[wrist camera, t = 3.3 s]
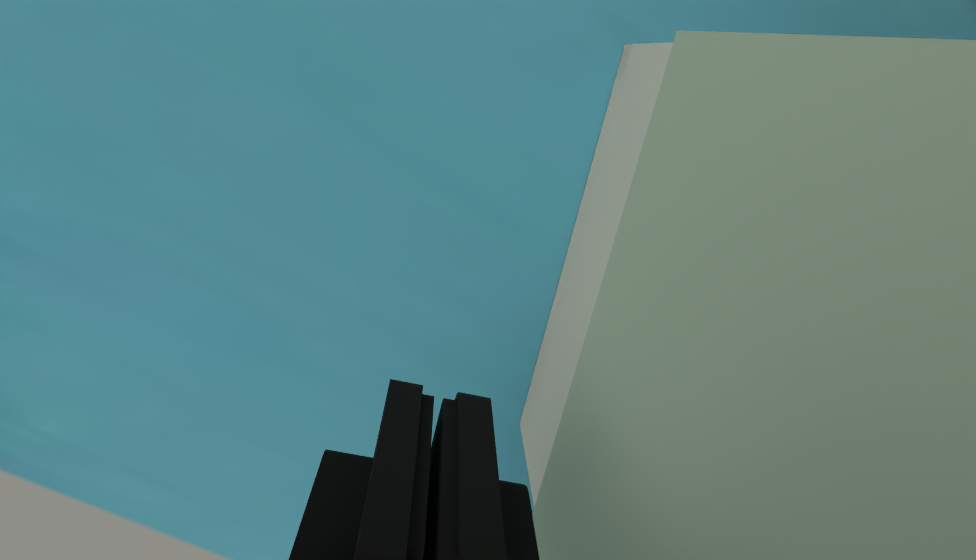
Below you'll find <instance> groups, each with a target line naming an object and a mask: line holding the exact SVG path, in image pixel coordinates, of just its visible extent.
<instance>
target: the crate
mask: <svg viewBox="0 0 976 560" xmlns="http://www.w3.org/2000/svg"><path fill="white" fill-rule="evenodd" d="M672 46H673V43H643V44H625V46H624V50H623V53H622V57H621V60H620V64H619V68H618V71H617V75H616V78H615V82H614V86H613V89H612V93H611V96H610V100H609V104H608V107H607V111H606V114H605V118H604V122H603V125H602V129H601V132H600V136H599V140H598V143H597V147H596V150H595V154H594V158H593V161H592V165H591V168H590V172H589V176H588V179H587V183H586V186H585V190H584V194H583V197H582V201H581V204H580V208H579V212H578V215H577V219H576V222H575V226H574V230H573V233H572V237H571V240H570V244H569V248H568V251H567V255H566V258H565V262H564V266H563V269H562V273H561V276H560V280H559V284H558V287H557V291H556V294H555V298H554V302H553V305H552V309H551V312H550V316H549V320H548V323H547V327H546V330H545V334H544V338H543V341H542V345H541V348H540V352H539V356H538V359H537V363H536V366H535V370H534V374H533V377H532V381H531V384H530V388H529V392H528V395H527V399H526V402H525V406H524V410H523V413H522V417H521V420H520V428H521V433H522V439H523V445H524V451H525V457H526V463H527V469H528V474H529V480H530V486H531V492H532V498H533V504H534V507H535V504H536V500H537V497H538V494H539V490H540V487H541V484H542V480H543V477H544V474H545V470H546V467H547V464H548V460H549V457H550V454H551V450H552V447H553V444H554V440H555V437H556V434H557V430H558V427H559V424H560V420H561V417H562V413H563V410H564V407H565V403H566V400H567V397H568V393H569V390H570V387H571V383H572V380H573V377H574V373H575V370H576V367H577V363H578V360H579V357H580V353H581V350H582V347H583V343H584V340H585V337H586V333H587V330H588V327H589V323H590V320H591V317H592V313H593V310H594V306H595V303H596V300H597V296H598V293H599V290H600V286H601V283H602V280H603V276H604V273H605V270H606V266H607V263H608V260H609V256H610V253H611V250H612V246H613V243H614V240H615V236H616V233H617V230H618V226H619V223H620V220H621V216H622V213H623V209H624V206H625V203H626V199H627V196H628V193H629V189H630V186H631V183H632V179H633V176H634V173H635V169H636V166H637V163H638V159H639V156H640V153H641V149H642V146H643V143H644V139H645V136H646V133H647V129H648V126H649V123H650V119H651V116H652V113H653V109H654V106H655V102H656V99H657V96H658V92H659V89H660V86H661V82H662V79H663V76H664V72H665V69H666V66H667V62H668V59H669V56H670V52H671V49H672Z"/></svg>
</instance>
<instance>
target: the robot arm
mask: <svg viewBox="0 0 976 560" xmlns="http://www.w3.org/2000/svg"><path fill="white" fill-rule="evenodd" d="M422 390H423V385H418V384H413V383H408V382H402V381H397V380H392V379H390V383H389V388H388V393H387V397H386V402H385V407H384V411H383V416H382V421H381V425H380V430H379V434H378V439H377V444H376V448H375V453H374V458H371V457H365V456H359V455H354V454H348V453H342V452H337V451H331V450H325V451H324V454H323V457H322V460H321V463H320V466H319V469H318V472H317V475H316V478H315V481H314V484H313V487H312V490H311V493H310V496H309V499H308V502H307V506H306V509H305V512H304V515H303V518H302V521H301V524H300V527H299V530H298V533H297V536H296V539H295V542H294V545H293V548H292V551H291V554H290V557H289V560H540V559H539V553H538V546H537V540H536V534H535V528H534V522H533V516H532V510H531V504H530V498H529V492H528V489H527V486H525V485H523V484H518V483H512V482H507V481H501V480H499V476H498V466H497V456H496V446H495V436H494V426H493V416H492V406H491V399H490V398H486V397H481V396H476V395H470V394H465V393H460V392H458V393H457V395H456V398H455V400H450V399H445V398H444V399H443V402H442V405H441V409H440V413H439V417H438V421H437V425H436V429H435V433H434V437H433V441H432V446H431V437H432V421H433V405H434V396H429V395H424V394H422Z"/></svg>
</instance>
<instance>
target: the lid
mask: <svg viewBox="0 0 976 560" xmlns="http://www.w3.org/2000/svg"><path fill="white" fill-rule="evenodd" d="M532 516H533V522H534V528H535V534H536V540H537V546H538V553H539V559H540V560H976V40H957V39H926V38H895V37H864V36H833V35H803V34H772V33H741V32H710V31H680V30H677V32H676V36H675V39H674V42H673V46H672V49H671V52H670V56H669V59H668V62H667V66H666V69H665V72H664V76H663V79H662V82H661V86H660V89H659V92H658V96H657V99H656V102H655V106H654V109H653V113H652V116H651V119H650V123H649V126H648V129H647V133H646V136H645V139H644V143H643V146H642V149H641V153H640V156H639V159H638V163H637V166H636V169H635V173H634V176H633V179H632V183H631V186H630V189H629V193H628V196H627V199H626V203H625V206H624V209H623V213H622V216H621V220H620V223H619V226H618V230H617V233H616V236H615V240H614V243H613V246H612V250H611V253H610V256H609V260H608V263H607V266H606V270H605V273H604V276H603V280H602V283H601V286H600V290H599V293H598V296H597V300H596V303H595V306H594V310H593V313H592V317H591V320H590V323H589V327H588V330H587V333H586V337H585V340H584V343H583V347H582V350H581V353H580V357H579V360H578V363H577V367H576V370H575V373H574V377H573V380H572V383H571V387H570V390H569V393H568V397H567V400H566V403H565V407H564V410H563V413H562V417H561V420H560V424H559V427H558V430H557V434H556V437H555V440H554V444H553V447H552V450H551V454H550V457H549V460H548V464H547V467H546V470H545V474H544V477H543V480H542V484H541V487H540V490H539V494H538V497H537V500H536V504H535V507H534V510H533V514H532Z"/></svg>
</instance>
